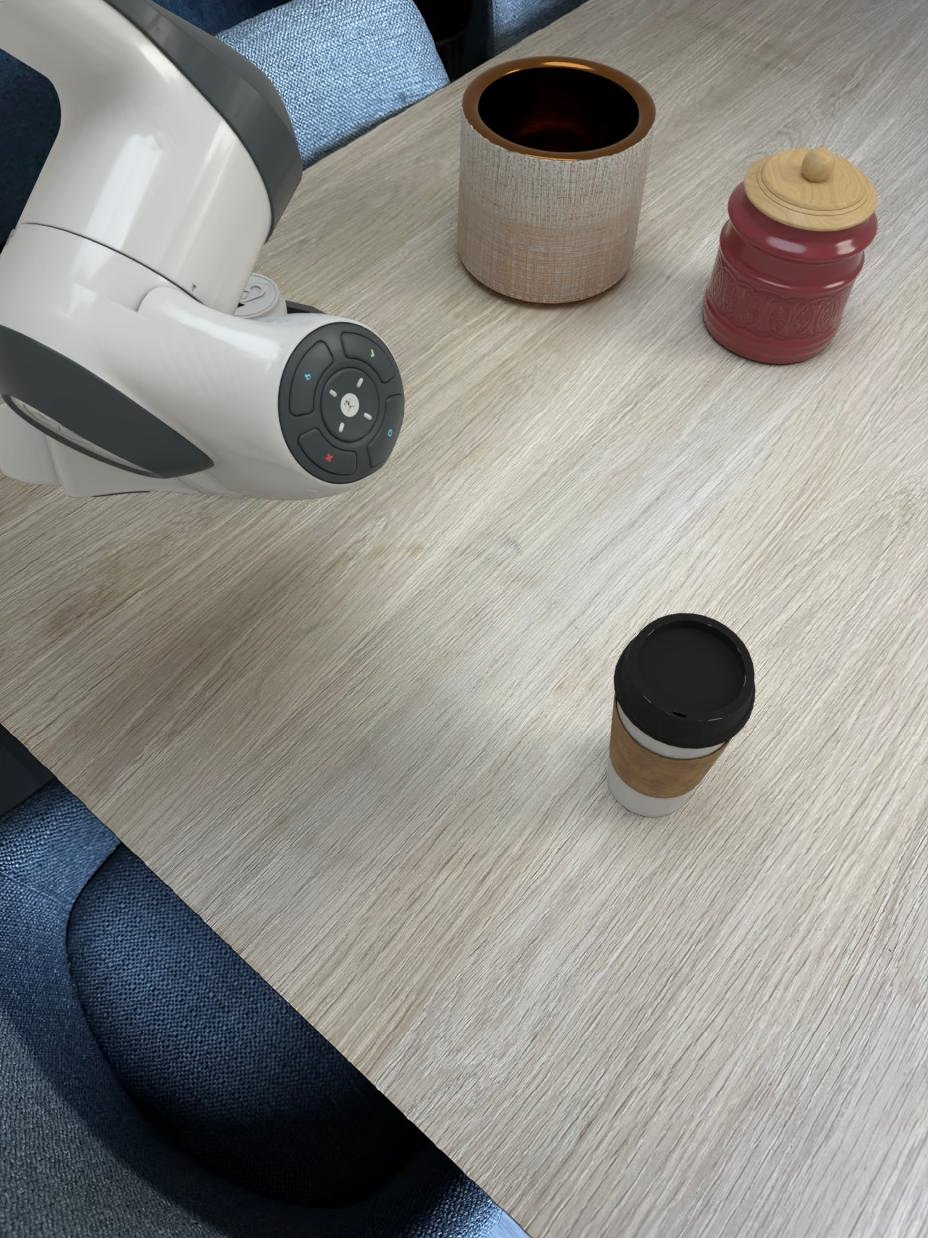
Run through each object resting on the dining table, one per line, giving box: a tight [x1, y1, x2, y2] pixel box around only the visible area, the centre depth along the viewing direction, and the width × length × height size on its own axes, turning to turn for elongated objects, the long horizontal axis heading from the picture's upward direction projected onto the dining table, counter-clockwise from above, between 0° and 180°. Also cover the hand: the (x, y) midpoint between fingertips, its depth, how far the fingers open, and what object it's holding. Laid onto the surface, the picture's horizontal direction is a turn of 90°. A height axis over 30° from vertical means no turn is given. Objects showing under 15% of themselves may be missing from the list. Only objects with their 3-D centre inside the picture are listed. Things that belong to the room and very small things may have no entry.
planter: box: [456, 55, 657, 305], centre depth 99 cm, size 18×18×16 cm
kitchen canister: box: [702, 146, 879, 365], centre depth 93 cm, size 13×13×18 cm
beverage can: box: [234, 272, 287, 320], centre depth 86 cm, size 6×6×12 cm
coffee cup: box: [606, 612, 757, 818], centre depth 66 cm, size 8×8×15 cm
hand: (135, 420), depth 69 cm, fingers open, 8 cm apart
